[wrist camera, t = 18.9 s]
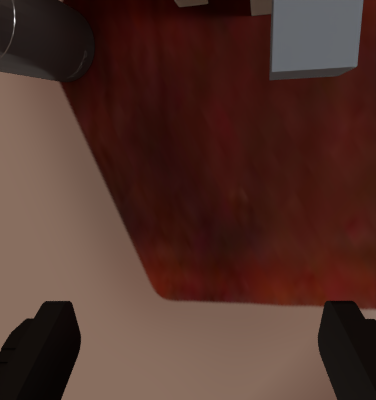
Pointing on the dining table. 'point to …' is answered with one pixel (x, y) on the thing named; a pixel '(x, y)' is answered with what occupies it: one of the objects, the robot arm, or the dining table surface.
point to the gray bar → (314, 38)
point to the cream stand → (261, 7)
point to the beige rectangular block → (190, 2)
